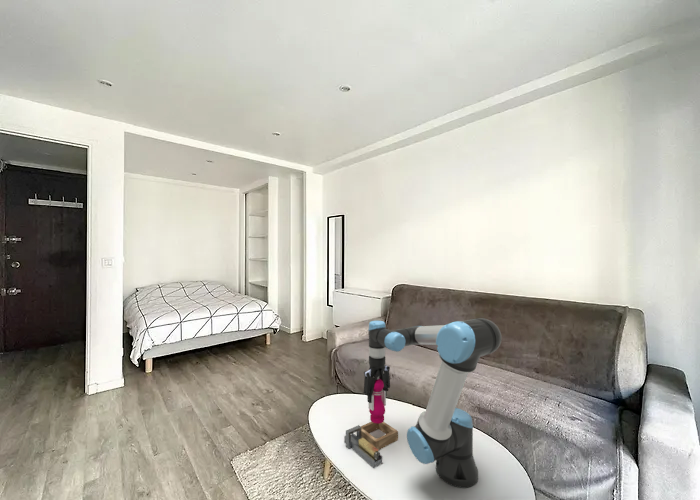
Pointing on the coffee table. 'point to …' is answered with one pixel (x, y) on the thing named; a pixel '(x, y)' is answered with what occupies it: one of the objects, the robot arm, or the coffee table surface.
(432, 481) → the coffee table surface
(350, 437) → the rail
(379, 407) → the pepper mill
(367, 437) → the cradle
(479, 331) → the robot arm
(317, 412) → the coffee table surface
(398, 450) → the coffee table surface
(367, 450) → the pin
